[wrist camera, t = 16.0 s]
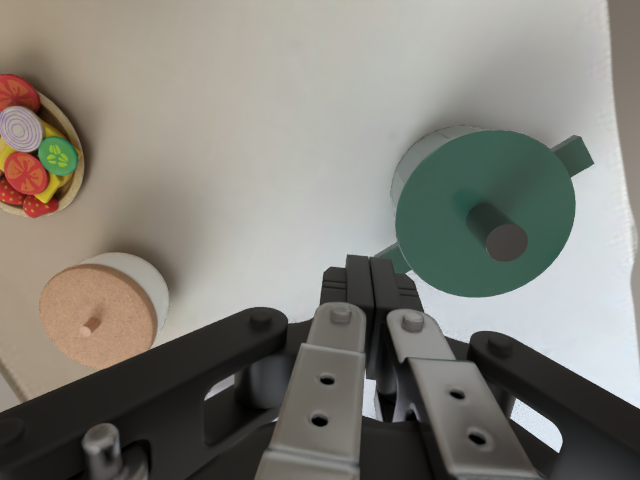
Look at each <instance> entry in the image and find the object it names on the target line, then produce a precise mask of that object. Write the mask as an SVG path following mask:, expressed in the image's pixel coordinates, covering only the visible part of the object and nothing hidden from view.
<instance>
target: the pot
mask: <svg viewBox="0 0 640 480" xmlns="http://www.w3.org/2000/svg"><path fill="white" fill-rule="evenodd" d="M480 130H487V129H482V128H477V127H471V126H466V125H459V126H453V127H447V128H443V129H440V130H436V131H434V132H432V133H430V134H428V135H426V136H425V137H423V138H422V139H420V140H419V141H418V142H416V143H415V144H414V145H413V146H412V147H411V148H410V149H409V150H408V151H407V152H406V154H405V155H404V156H403V157H402V159H401V161H400V162H399V164H398V166H397V168H396V171H395V173H394V177H393V180H392V186H391V192H390V195H391V202H392V207H393V213H394V217H395V210H396V205H397V200H398V197H399V194H400V191H401V189H402V187H403V185H404V183H405V181H406V179H407V177H408V176H409V174H410V173H411V171H412V170H413V169H414V167H415V166H416V165H417V164H418V163H419V162H420V161H421V160H422V159H423V158H424V157H425V156H426V155H427V154H428V153H429V152H431V151H432V150H433V149H435V148H436V147H437V146H439V145H441V144H442V143H444V142H446V141H448V140H450V139H452V138H454V137H457V136H459V135H462V134H466V133H469V132H473V131H480ZM550 150H551V151H553V152H554V153H555V155H556V156H557V157H558V158H559V159H560V160H561V161H562V163H563V165H564V166H565V168H566V169H567V171H568V173H569V176H570V178H571V177H572V176H574V175H576V174H578V173H579V172H581V171H583V170H584V169H586V168H588V167H590V166H591V165H593V164H594V162H593V160H592V158H591V156H590V154H589V152H588V150H587V148H586V146H585V144H584V142H583V140H582V138H581V137H580V136H576V135H573V136H571V137H570V138H568V139H567V140H565V141H563V142H562V143H560V144H558V145H557V146H555V147H553V148H552V149H550ZM374 257H379V258H389V259H391V260H392V264H393V268H394V272H395V273H400V274H405V273H406V272H408V271H410V270H412V269H411V267H410V266H409V265H408V264H407V262H406V260H405V258H404V257H403V255H402V252H401V250H400V248H399V245H398V242H396V243H395V244H393V245H391V246H390V247H388V248H386V249H385V250H383V251H381V252H380V253H378V254H376V255H375V256H374Z"/></svg>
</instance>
